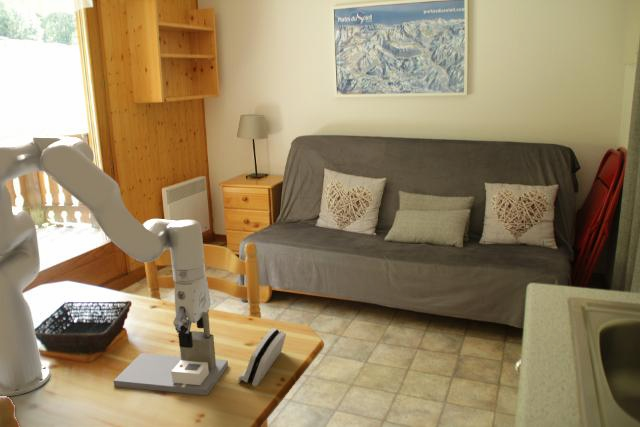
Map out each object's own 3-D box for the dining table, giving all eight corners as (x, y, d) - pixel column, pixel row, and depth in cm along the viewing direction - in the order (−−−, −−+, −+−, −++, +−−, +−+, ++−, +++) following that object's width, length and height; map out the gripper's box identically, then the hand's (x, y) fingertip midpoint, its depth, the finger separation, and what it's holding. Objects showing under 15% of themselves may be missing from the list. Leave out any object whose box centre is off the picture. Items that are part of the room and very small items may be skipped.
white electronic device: (172, 382, 130) (171, 369, 129) (182, 371, 135) (180, 358, 134) (200, 385, 129) (198, 372, 128) (208, 373, 133) (207, 361, 132)
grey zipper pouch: (263, 349, 147) (273, 318, 144) (279, 356, 146) (289, 325, 143) (236, 383, 132) (246, 350, 128) (254, 392, 131) (265, 358, 128)
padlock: (188, 359, 140) (182, 305, 136) (217, 363, 138) (212, 308, 134) (180, 367, 137) (174, 312, 133) (210, 371, 135) (205, 315, 131)
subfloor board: (114, 386, 133) (113, 380, 132) (142, 358, 145) (141, 352, 145) (207, 395, 128) (206, 389, 127) (227, 365, 140) (227, 359, 140)
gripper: (187, 287, 122) (194, 356, 126) (217, 260, 138) (222, 322, 143) (156, 285, 123) (164, 353, 128) (190, 258, 140) (195, 320, 144)
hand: (195, 337), depth 135 cm, fingers open, 9 cm apart
